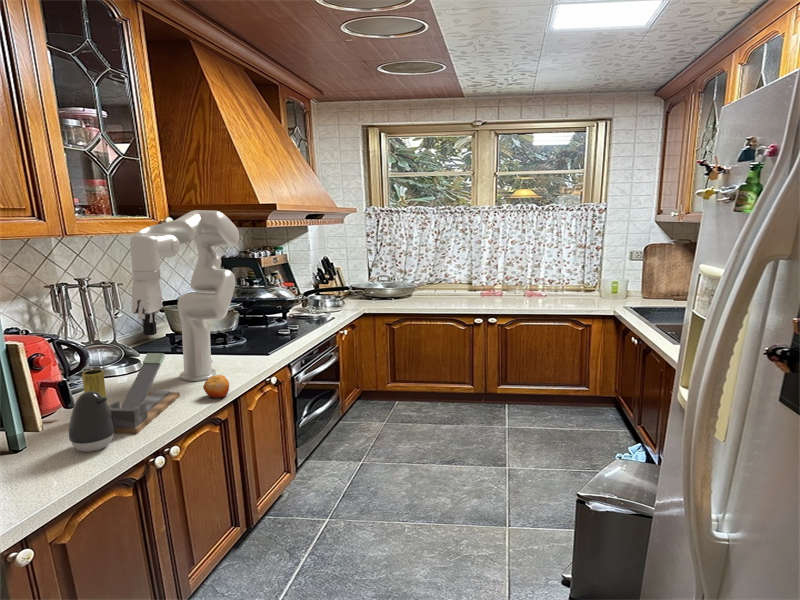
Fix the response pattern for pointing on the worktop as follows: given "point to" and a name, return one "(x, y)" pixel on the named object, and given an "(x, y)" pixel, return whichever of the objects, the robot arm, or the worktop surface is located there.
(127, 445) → the worktop surface
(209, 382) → the fruit
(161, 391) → the stand
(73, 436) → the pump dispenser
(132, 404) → the arm
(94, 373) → the vase
